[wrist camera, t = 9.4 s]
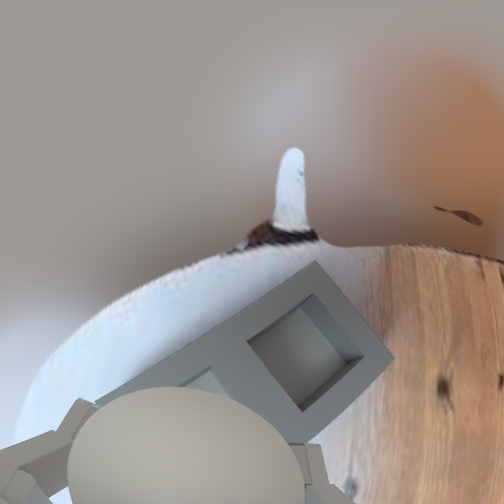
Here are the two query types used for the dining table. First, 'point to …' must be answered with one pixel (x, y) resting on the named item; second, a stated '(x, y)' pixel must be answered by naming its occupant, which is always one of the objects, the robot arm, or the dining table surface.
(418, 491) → the dining table surface
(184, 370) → the socket block
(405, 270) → the dining table surface
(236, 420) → the plug
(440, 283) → the dining table surface
